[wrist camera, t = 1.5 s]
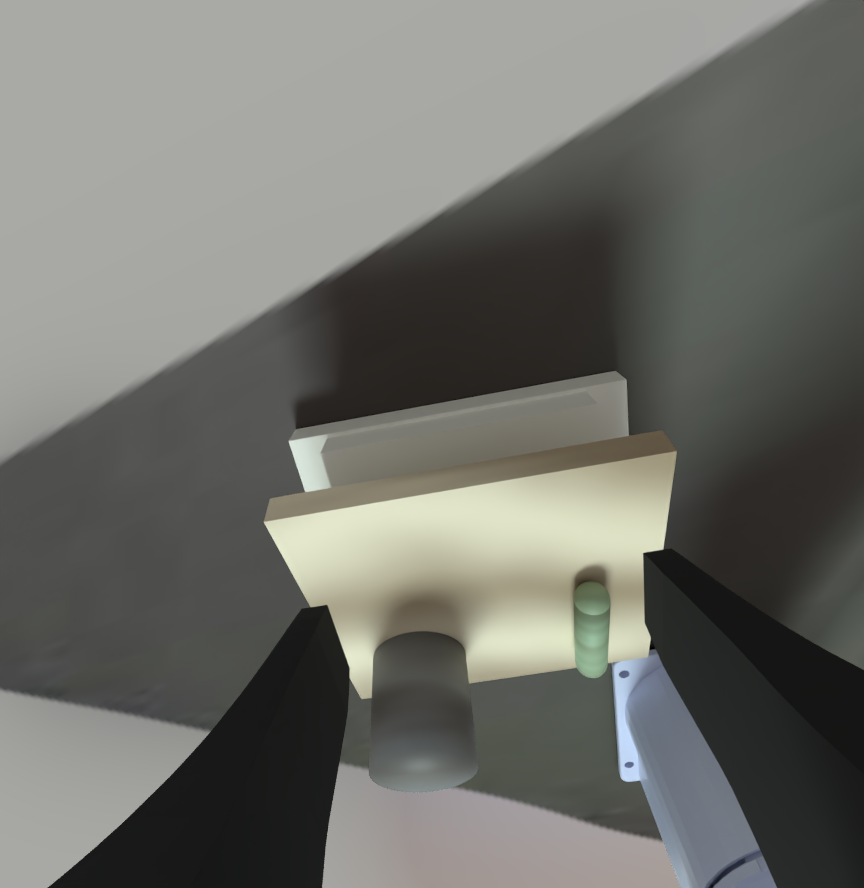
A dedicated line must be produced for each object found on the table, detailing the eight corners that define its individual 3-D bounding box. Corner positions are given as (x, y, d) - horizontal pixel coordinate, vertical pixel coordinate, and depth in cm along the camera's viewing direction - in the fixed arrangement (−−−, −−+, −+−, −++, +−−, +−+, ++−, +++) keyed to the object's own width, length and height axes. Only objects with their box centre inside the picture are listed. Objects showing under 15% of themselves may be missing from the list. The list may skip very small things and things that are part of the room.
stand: (626, 599, 25) (648, 641, 23) (363, 640, 26) (356, 685, 24) (615, 370, 20) (641, 392, 18) (295, 429, 21) (278, 457, 19)
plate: (638, 640, 22) (690, 769, 18) (365, 680, 23) (358, 812, 19) (662, 429, 15) (754, 564, 11) (270, 498, 16) (229, 646, 12)
